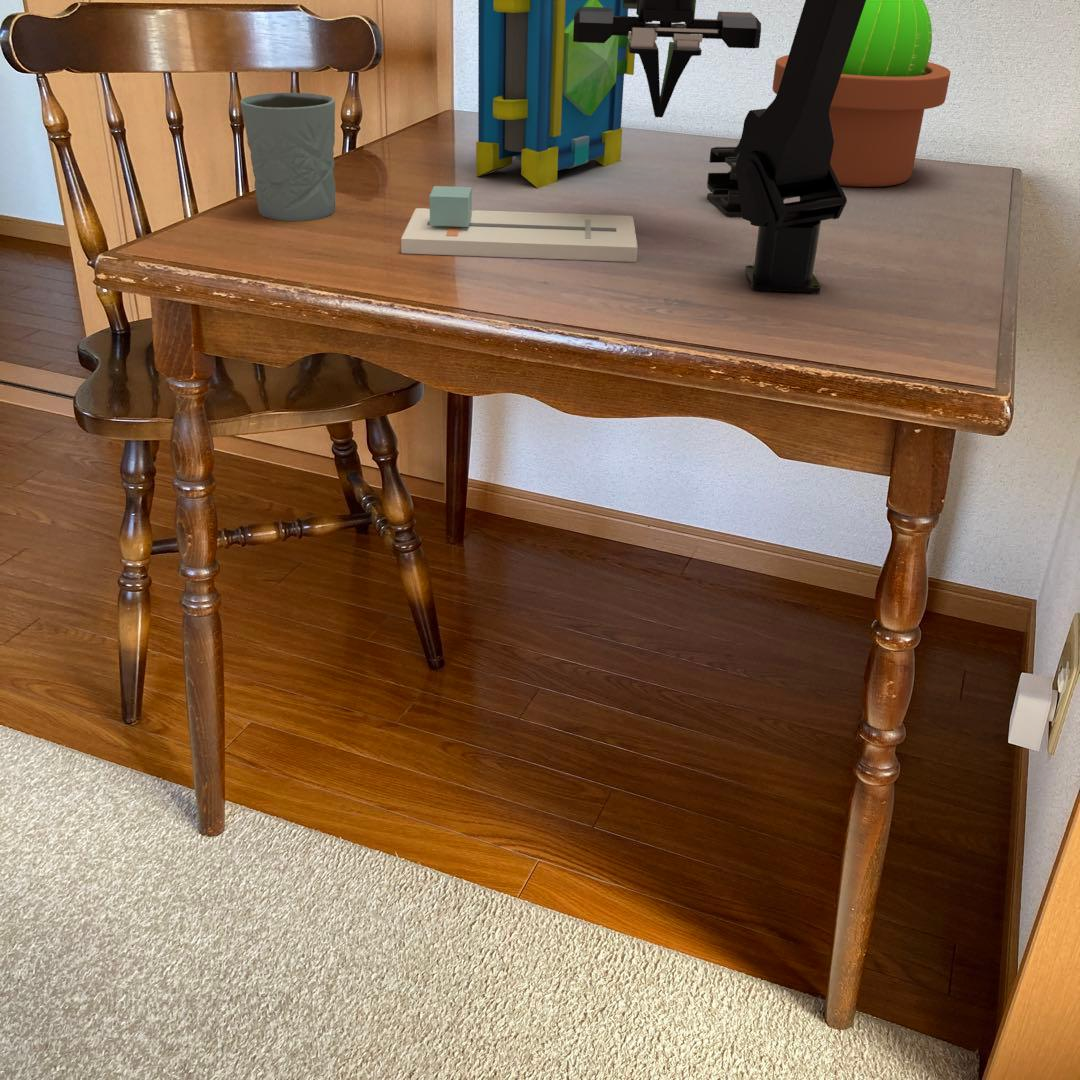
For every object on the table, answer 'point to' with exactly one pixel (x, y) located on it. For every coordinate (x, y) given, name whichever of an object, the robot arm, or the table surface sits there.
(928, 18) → the potted cactus
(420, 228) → the fader panel
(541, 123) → the decorative book
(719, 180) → the end cap
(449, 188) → the fader tab
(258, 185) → the grey-green plant pot
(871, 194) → the table surface
